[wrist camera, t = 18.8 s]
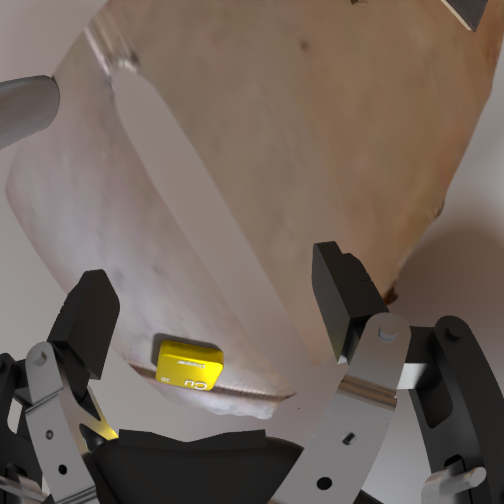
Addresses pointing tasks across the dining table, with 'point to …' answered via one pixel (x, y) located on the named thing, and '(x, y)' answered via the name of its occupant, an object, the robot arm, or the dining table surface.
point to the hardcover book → (467, 11)
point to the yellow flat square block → (189, 365)
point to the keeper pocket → (359, 2)
